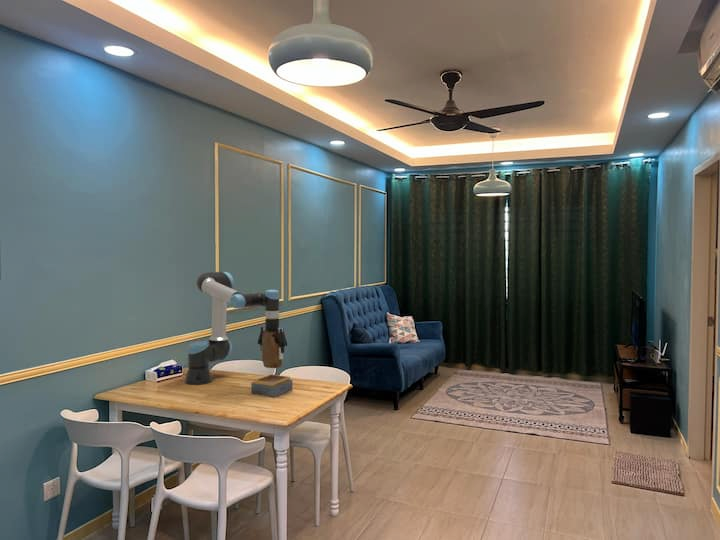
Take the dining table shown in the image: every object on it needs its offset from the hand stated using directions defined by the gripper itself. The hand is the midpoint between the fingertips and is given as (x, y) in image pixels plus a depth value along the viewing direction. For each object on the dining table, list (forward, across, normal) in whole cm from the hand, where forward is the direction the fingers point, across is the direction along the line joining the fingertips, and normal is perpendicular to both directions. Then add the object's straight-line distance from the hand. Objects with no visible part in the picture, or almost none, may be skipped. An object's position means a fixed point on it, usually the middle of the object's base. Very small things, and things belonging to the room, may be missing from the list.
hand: (272, 357), depth 293 cm
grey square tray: (+19, 0, 0) cm, 19 cm away
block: (+5, 0, 0) cm, 5 cm away
